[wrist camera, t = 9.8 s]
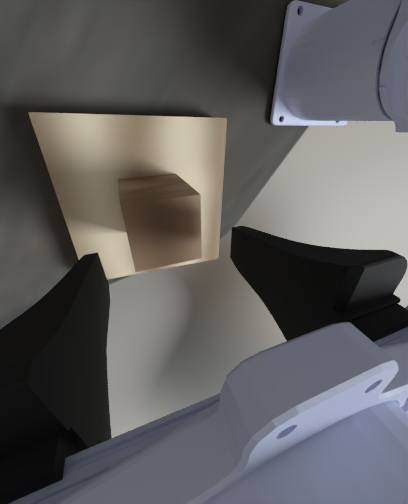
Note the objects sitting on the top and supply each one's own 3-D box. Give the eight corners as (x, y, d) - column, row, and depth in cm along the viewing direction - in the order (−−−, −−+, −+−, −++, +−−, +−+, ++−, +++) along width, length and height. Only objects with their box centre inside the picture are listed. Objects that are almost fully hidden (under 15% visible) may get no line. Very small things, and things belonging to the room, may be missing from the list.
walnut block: (176, 173, 17) (200, 194, 12) (180, 224, 20) (201, 258, 15) (117, 179, 16) (120, 204, 11) (129, 232, 18) (135, 272, 14)
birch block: (212, 118, 19) (226, 118, 17) (208, 245, 26) (218, 258, 23) (41, 113, 15) (28, 111, 13) (89, 265, 22) (86, 283, 19)
